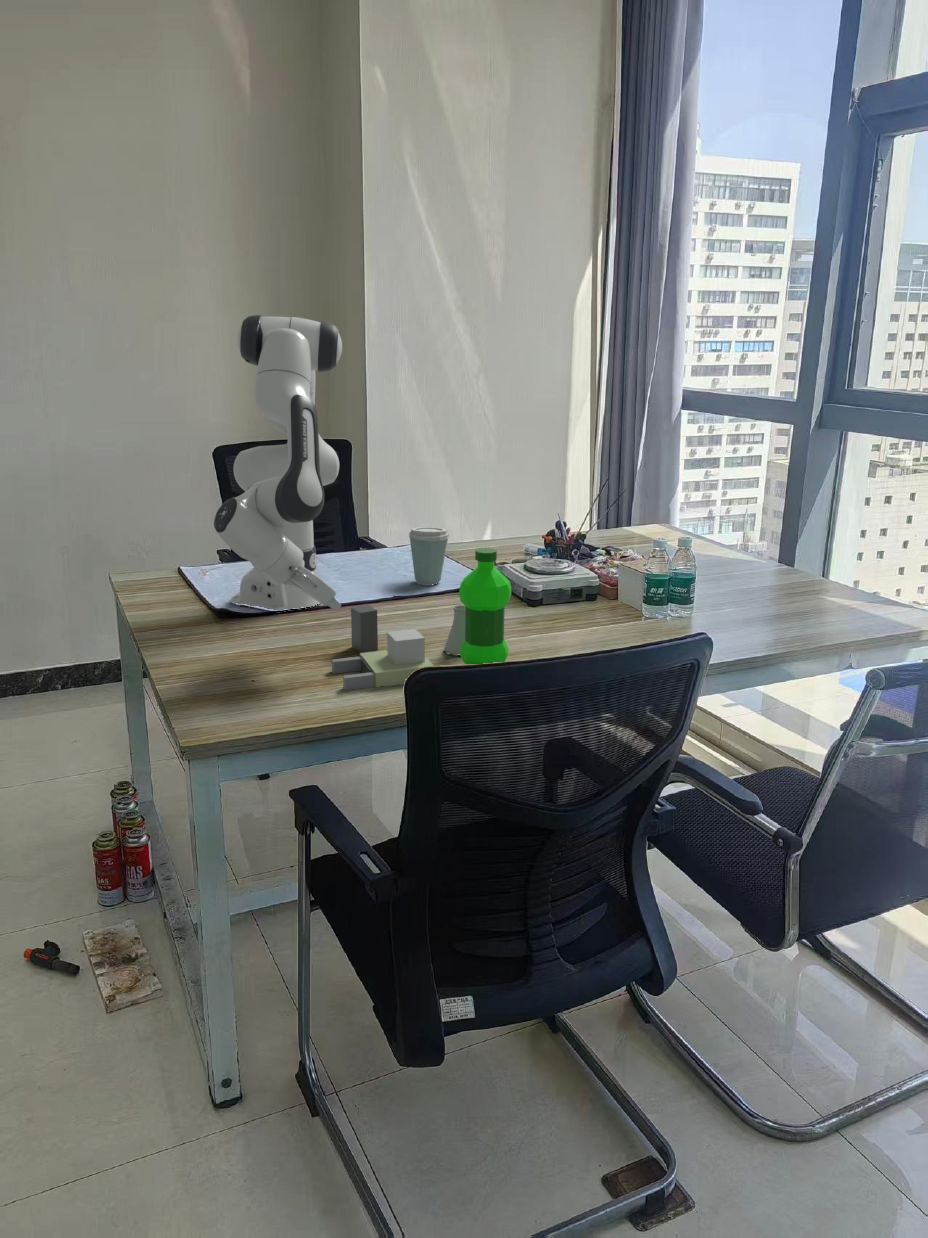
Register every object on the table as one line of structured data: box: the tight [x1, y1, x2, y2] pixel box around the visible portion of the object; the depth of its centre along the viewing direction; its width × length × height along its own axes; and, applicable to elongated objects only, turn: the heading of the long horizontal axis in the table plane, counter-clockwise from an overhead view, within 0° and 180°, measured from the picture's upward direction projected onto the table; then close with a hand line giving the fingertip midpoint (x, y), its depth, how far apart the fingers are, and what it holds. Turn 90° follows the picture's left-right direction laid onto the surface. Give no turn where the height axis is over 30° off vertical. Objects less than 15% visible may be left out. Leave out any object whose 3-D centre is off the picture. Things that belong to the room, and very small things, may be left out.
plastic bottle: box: [458, 547, 512, 665], centre depth 197 cm, size 10×10×25 cm
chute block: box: [350, 604, 379, 654], centre depth 211 cm, size 4×4×9 cm
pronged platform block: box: [331, 628, 435, 691], centre depth 196 cm, size 18×12×8 cm, turn 111°
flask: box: [443, 604, 466, 654], centre depth 210 cm, size 7×7×10 cm
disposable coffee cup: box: [408, 526, 450, 586], centre depth 261 cm, size 11×11×15 cm
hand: (328, 602), depth 205 cm, fingers open, 8 cm apart
